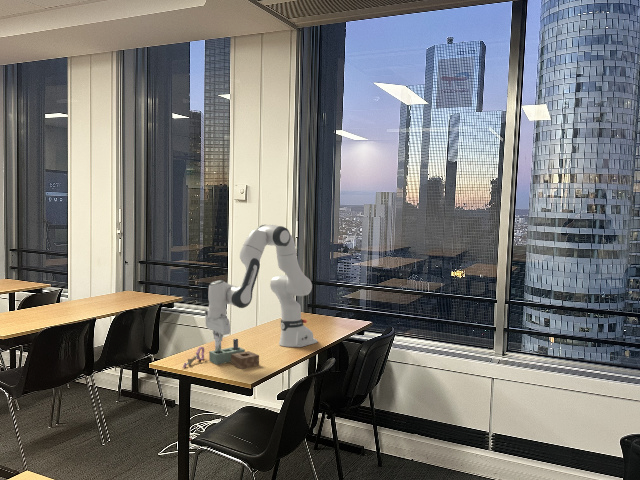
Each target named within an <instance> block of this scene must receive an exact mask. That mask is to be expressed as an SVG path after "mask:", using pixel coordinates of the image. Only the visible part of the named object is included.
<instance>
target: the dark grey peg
mask: <svg viewBox="0 0 640 480" xmlns="http://www.w3.org/2000/svg"><path fill="white" fill-rule="evenodd" d="M232 340H233V342H232V343H233V345H232V347H233V350H238V347H239V339H238V338H233V339H232Z"/></svg>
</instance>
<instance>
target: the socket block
mask: <svg viewBox="0 0 640 480" xmlns="http://www.w3.org/2000/svg"><path fill="white" fill-rule="evenodd" d="M230 363H231V364H230V365H232V366H234V367H236V368H237V369H241V370H244V369H249V368H253V367H256V366H260V355H259V354H256V353H254V352H252V351H249V350H248V351H245V352H241V353H236V354H231V362H230Z"/></svg>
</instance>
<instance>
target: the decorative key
mask: <svg viewBox="0 0 640 480" xmlns="http://www.w3.org/2000/svg"><path fill="white" fill-rule="evenodd" d="M200 352H201V353H200ZM200 355H201V356H200ZM204 358H205V347H203V346H199V347H198V349H197V350H196V352H195V355H193V357H192V358H187V362H183V365H182V369H184V368H185V367H186V368H187V365H188V366H189V365H191V366H192V363H193V362H194V361H196V360H198V361H203V360H204Z"/></svg>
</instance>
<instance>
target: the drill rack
mask: <svg viewBox="0 0 640 480" xmlns="http://www.w3.org/2000/svg"><path fill="white" fill-rule="evenodd" d="M241 352H246V350H245V349H244V348H242V347H240V346H238V350H233V346H231V347H226V348H221V353H217V354H216V353H215V350H210V351H209V352H208V353H209V354H208V356H209V357H208V358H209V362H211V363H213V364H214V365H216V366H217V365H223V364H227V363H231V354H236V353H241Z"/></svg>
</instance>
